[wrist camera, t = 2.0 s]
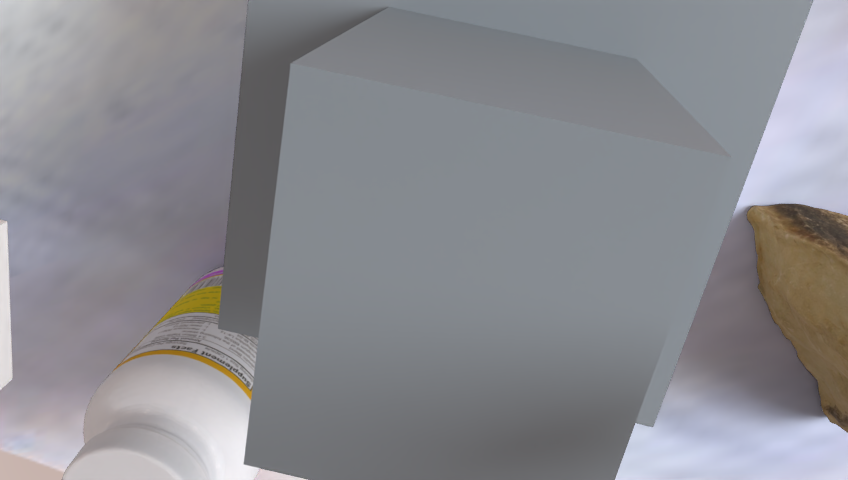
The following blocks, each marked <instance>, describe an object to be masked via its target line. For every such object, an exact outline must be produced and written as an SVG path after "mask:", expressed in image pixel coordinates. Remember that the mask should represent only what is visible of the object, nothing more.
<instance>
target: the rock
mask: <svg viewBox="0 0 848 480" xmlns="http://www.w3.org/2000/svg"><path fill="white" fill-rule="evenodd" d="M747 219H748V221H749V222H750V223H751V225H752V226H753V229H754V232H755V245H756V252H757V255H758V261H757V272H758V276H759V280H760V283H759V285H758V289H759V290H760V292H761V294H762V295H763V297H764V300H765V301H766V303H767V305H768V307H769V310H770V312H771V316H772V318H773V320H774V322H775V323H776V324H777V325H778V326H779V327H780V329H781V331H782V333H783V335H784V336H785V337H786V339H788V340H791V342H792V344H793V346H794V348H795V349H796V351H797V357H798V358H799V359H800V361H801V362H802V363H803V365H804V366H805V367H806V369H807V370H808V371H809V372H810V373H811V374H812V375H813V376H814V377H815V378H816V379H817V381H818V390H819V394H820V398H821V407H822V410H823V412H824V414H825V415H826V416H827V417H828V419H829V421H830V422H831V423H834V424H837V425H838V426H839V427H841V428H842V429H843V430H845V431H846V432H848V216H846V215H843V214H839V213H836V212H831V211H828V210H824V209H819V208H813V207H810V206H806V205H800V204H778V205H772V206H753V207H751V208H750V209H749V211H748V212H747Z"/></svg>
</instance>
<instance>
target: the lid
mask: <svg viewBox="0 0 848 480" xmlns="http://www.w3.org/2000/svg"><path fill="white" fill-rule="evenodd" d="M812 3H813V0H248V9H247V19H246V30H245V41H244V52H243V62H242V73H241V84H240V95H239V106H238V116H237V127H236V138H235V149H234V159H233V170H232V181H231V192H230V202H229V213H228V224H227V235H226V245H225V256H224V267H223V278H222V289H221V299H220V310H219V321H218V329H221V330H225V331H229V332H234V333H238V334H243V335H247V336H252V337H256V338H258V346H257V354H256V362H255V371H254V379H253V388H252V396H251V405H250V413H249V422H248V430H247V439H246V447H245V456H244V465H248V466H252V467H257V468H261V469H265V470H270V471H274V472H278V473H283V474H287V475H291V476H296V477H300V478H304V479H308V480H615V477H616V475H617V472H618V469H619V466H620V464H621V461H622V458H623V455H624V453H625V450H626V447H627V444H628V442H629V439H630V436H631V433H632V431H633V428H634V425H635V423H637V424H642V425H646V426H650V427H653V426H654V423H655V420H656V418H657V415H658V412H659V410H660V407H661V404H662V402H663V399H664V396H665V394H666V391H667V388H668V386H669V383H670V381H671V378H672V375H673V373H674V370H675V367H676V365H677V362H678V359H679V357H680V354H681V351H682V349H683V346H684V343H685V341H686V338H687V335H688V333H689V330H690V327H691V325H692V322H693V319H694V317H695V314H696V311H697V309H698V306H699V303H700V301H701V298H702V295H703V293H704V290H705V287H706V285H707V282H708V279H709V277H710V274H711V271H712V269H713V266H714V263H715V261H716V258H717V256H718V253H719V250H720V248H721V245H722V242H723V240H724V237H725V234H726V232H727V229H728V226H729V224H730V221H731V218H732V216H733V213H734V210H735V208H736V205H737V202H738V200H739V197H740V194H741V192H742V189H743V186H744V184H745V181H746V178H747V176H748V173H749V170H750V168H751V165H752V162H753V160H754V157H755V154H756V152H757V149H758V146H759V144H760V141H761V138H762V136H763V133H764V131H765V128H766V125H767V123H768V120H769V117H770V115H771V112H772V109H773V107H774V104H775V101H776V99H777V96H778V93H779V91H780V88H781V85H782V83H783V80H784V77H785V75H786V72H787V69H788V67H789V64H790V61H791V59H792V56H793V53H794V51H795V48H796V45H797V43H798V40H799V37H800V35H801V32H802V29H803V27H804V24H805V21H806V19H807V16H808V14H809V11H810V8H811V6H812Z"/></svg>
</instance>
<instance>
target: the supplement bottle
mask: <svg viewBox="0 0 848 480" xmlns="http://www.w3.org/2000/svg"><path fill="white" fill-rule="evenodd" d="M222 278H223V267H221V268H218V269H215V270H213V271H211V272H209V273H207V274H205V275H204V276H202V277H201V278H200V279H199V280H197V281H196V282H195V283H194V284H193V285H192V286H191V287H190V288H189V289H188V290H187V291H186V292H185V293H184V295H183V296H182V297H181V298H180V299H179V300H178V301H177V302H176V303H175V304H174V305H173V307H172V308H171V309H170V310H169V311H168V312H167V313H166V314H165V315H164V316H163V317H162V318H161V320H160V321H159V322H158V323H157V324H156V325H155V326H154V327H153V328H152V329H151V330H150V332H149V333H148V334H147V335H146V336H145V337H144V338H143V339H142V340H141V341H140V343H139V344H138V345H137V346H136V347H135V348H134V349H133V350H132V351H131V352H130V353H129V354H128V355H127V356H126V358H125V359H124V360H123V361H122V362H121V363H120V364H119V365H118V366H117V367H116V368H115V369H114V370H113V371H112V373H111V374H110V375H109V376H108V377H107V378H106V379H105V381H104V382H103V383H102V384H101V385H100V386H99V387H98V389H97V390H96V392H95V393H94V395H93V396H92V398H91V400H90V403H89V405H88V408H87V411H86V414H85V419H84V431H83V434H84V443H85V445H84V446H83V448H82V449H81V450H80V451H79V453H78V454H77V456H76V457H75V458H74V459H73V461H72V462H71V463H70V465H69V466H68V467H67V469H66V471H65V472H64V475H63V478H62V480H255V478H256V476H257V474H258V472H259V470H260V468H257V467H252V466H248V465H244V456H245V447H246V439H247V430H248V422H249V413H250V405H251V396H252V388H253V379H254V371H255V362H256V354H257V346H258V338H256V337H252V336H247V335H243V334H238V333H234V332H229V331H225V330H221V329H218V321H219V310H220V299H221V289H222Z"/></svg>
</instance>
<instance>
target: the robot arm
mask: <svg viewBox="0 0 848 480" xmlns="http://www.w3.org/2000/svg"><path fill="white" fill-rule="evenodd" d="M12 379H13V374H12V345H11V316H10V287H9V258H8V228H7V221H4V220H0V390H1V389H2V388H3V387H4V386H5V385H6V384H8V383H9V382H10V381H11V380H12Z"/></svg>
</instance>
